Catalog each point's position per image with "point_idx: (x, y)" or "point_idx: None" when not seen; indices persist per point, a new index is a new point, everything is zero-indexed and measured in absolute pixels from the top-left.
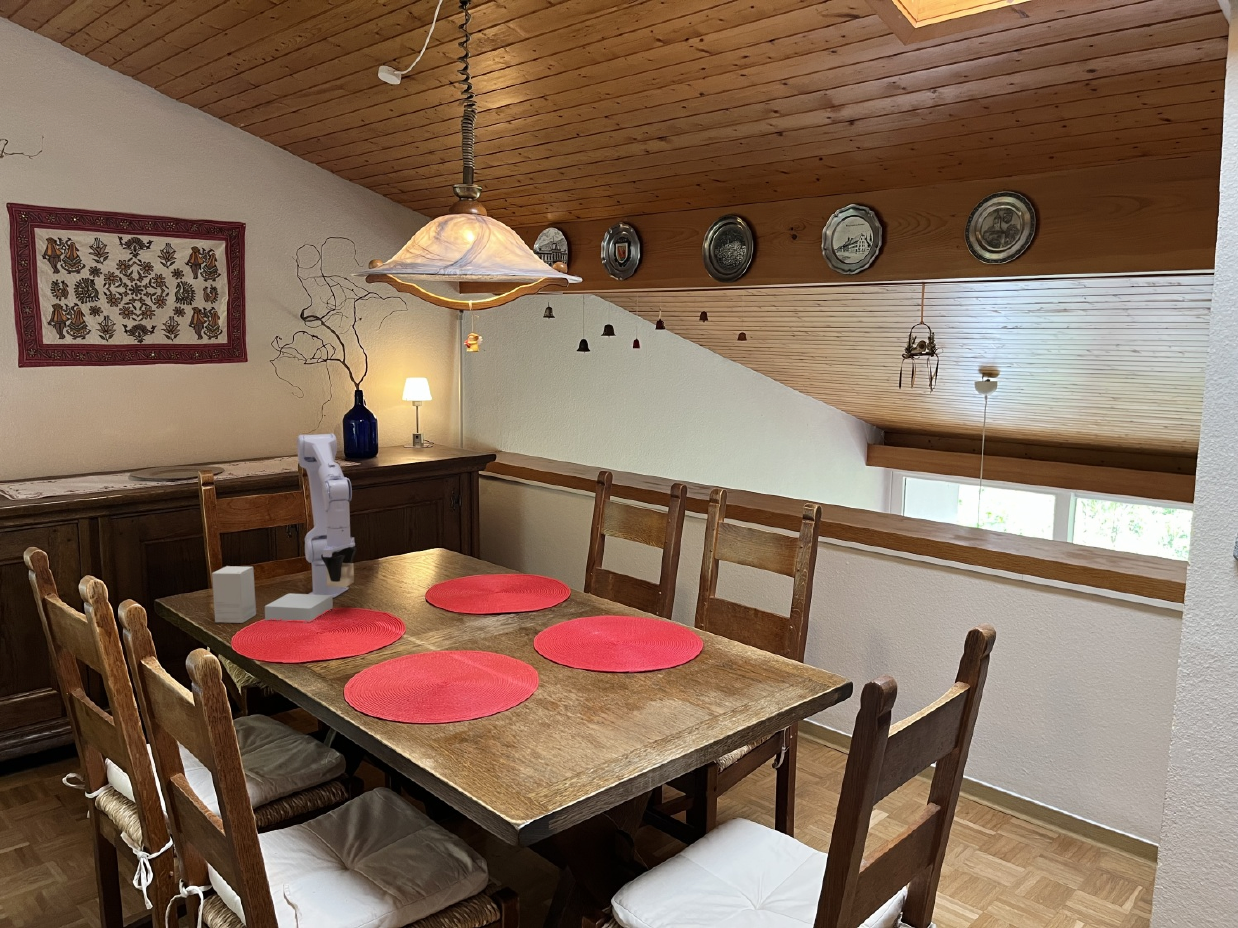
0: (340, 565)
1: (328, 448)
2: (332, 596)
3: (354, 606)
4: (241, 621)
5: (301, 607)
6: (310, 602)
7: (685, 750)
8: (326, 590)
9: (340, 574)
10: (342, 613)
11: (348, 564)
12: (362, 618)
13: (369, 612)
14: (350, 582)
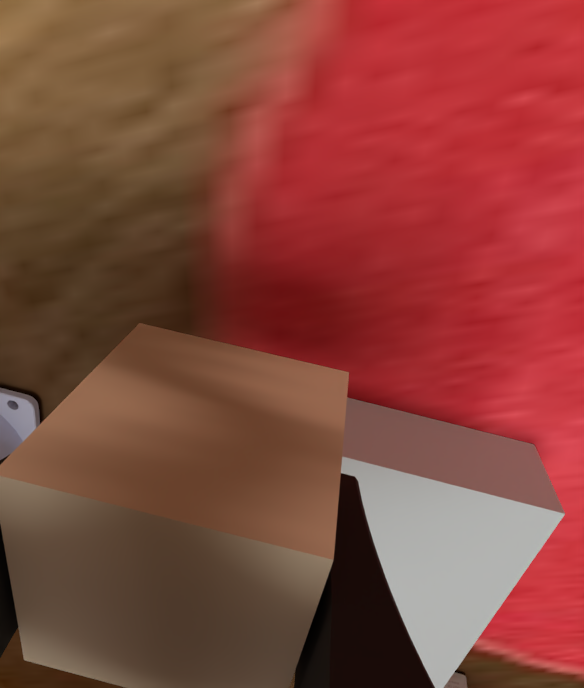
0: (394, 673)
1: None
2: (34, 408)
3: (187, 248)
4: (466, 683)
5: (520, 557)
6: (400, 524)
7: None
8: (2, 457)
9: (342, 525)
10: (356, 298)
11: (91, 530)
12: (524, 118)
13: (349, 93)
14: (225, 353)
